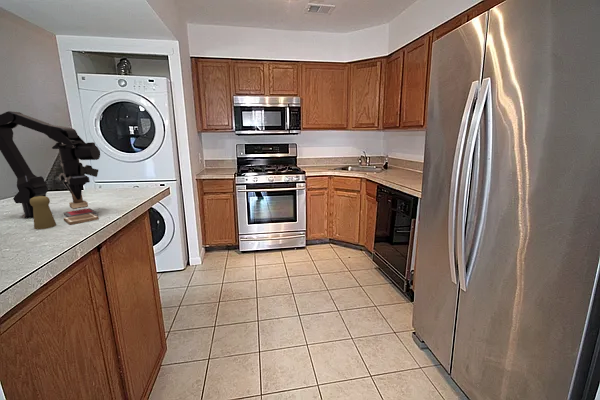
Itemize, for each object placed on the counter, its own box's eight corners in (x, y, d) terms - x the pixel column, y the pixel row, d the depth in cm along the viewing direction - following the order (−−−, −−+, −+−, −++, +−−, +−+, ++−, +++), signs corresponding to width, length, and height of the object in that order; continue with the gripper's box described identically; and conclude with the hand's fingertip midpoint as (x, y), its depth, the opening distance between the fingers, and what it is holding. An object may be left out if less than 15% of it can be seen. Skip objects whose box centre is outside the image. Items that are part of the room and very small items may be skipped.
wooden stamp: (70, 207, 117) (65, 185, 115) (84, 205, 121) (80, 183, 119) (73, 209, 114) (68, 186, 112) (88, 206, 118) (84, 185, 116)
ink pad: (64, 214, 118) (63, 212, 117) (90, 210, 124) (89, 207, 124) (69, 218, 112) (68, 215, 112) (96, 213, 118) (96, 211, 118)
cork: (43, 229, 99) (36, 198, 96) (29, 228, 100) (22, 198, 98) (60, 224, 105) (54, 195, 102) (47, 223, 106) (41, 194, 103)
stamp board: (63, 220, 109) (63, 217, 109) (91, 215, 116) (91, 212, 116) (69, 225, 104) (69, 222, 103) (98, 219, 110) (98, 216, 110)
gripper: (101, 159, 113) (108, 198, 117) (87, 158, 125) (94, 193, 128) (66, 162, 105) (74, 203, 108) (55, 159, 117) (62, 197, 120)
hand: (77, 199), depth 117 cm, fingers closed on wooden stamp, 3 cm apart
